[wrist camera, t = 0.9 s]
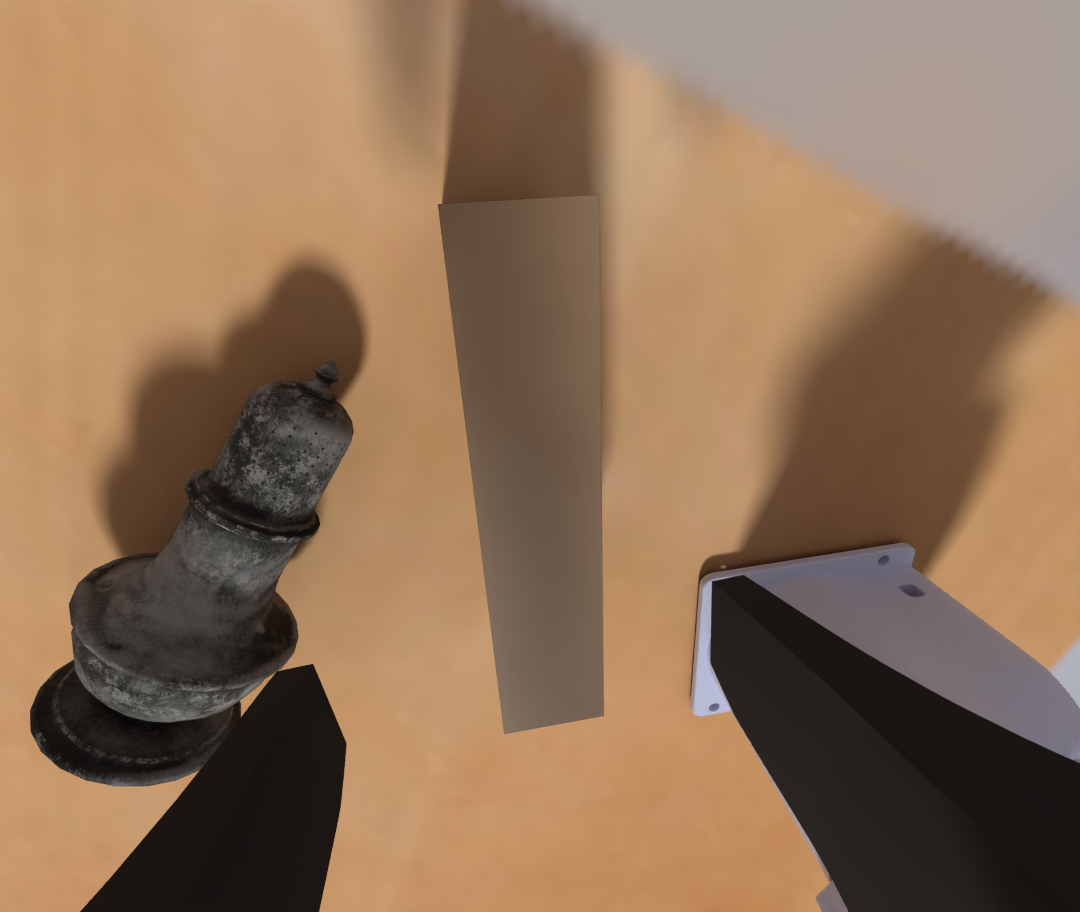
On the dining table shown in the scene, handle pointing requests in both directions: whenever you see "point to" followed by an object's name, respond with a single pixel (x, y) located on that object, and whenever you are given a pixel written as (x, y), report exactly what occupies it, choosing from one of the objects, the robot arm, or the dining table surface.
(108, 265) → the dining table surface
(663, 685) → the dining table surface
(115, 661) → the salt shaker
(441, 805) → the dining table surface
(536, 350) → the dark wooden brick
